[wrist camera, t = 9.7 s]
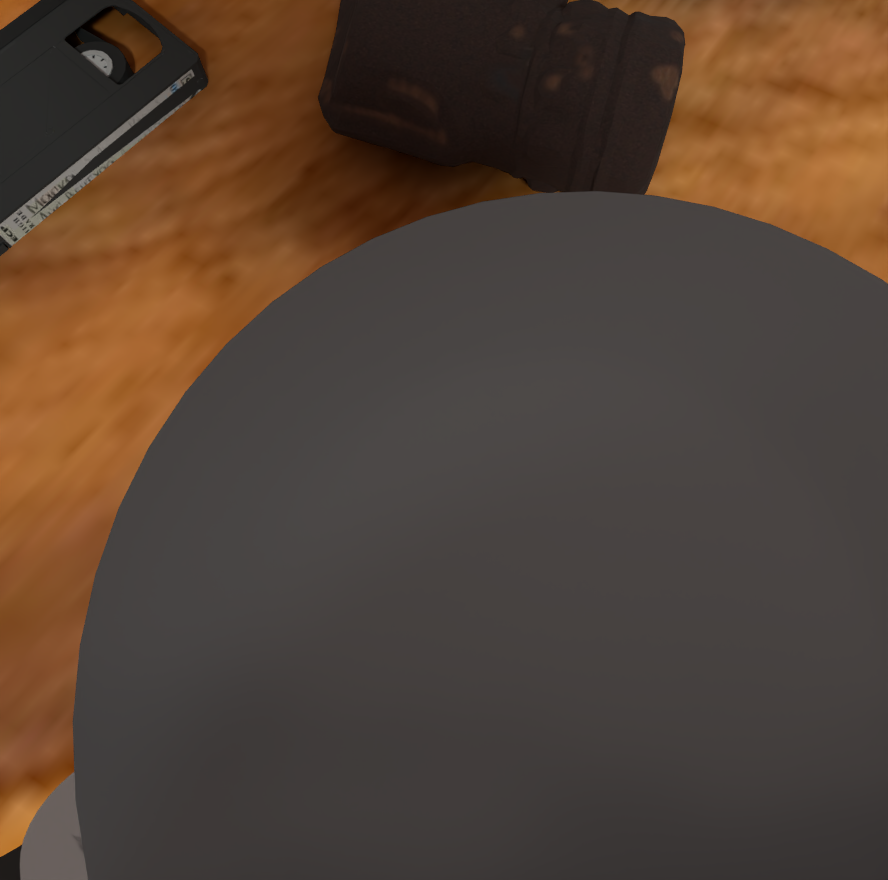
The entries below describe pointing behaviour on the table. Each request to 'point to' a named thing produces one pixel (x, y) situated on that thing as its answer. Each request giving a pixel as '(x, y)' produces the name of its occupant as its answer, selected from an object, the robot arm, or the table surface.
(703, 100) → the table surface
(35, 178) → the vhs tape
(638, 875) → the grey and white cylinder
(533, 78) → the pipe
